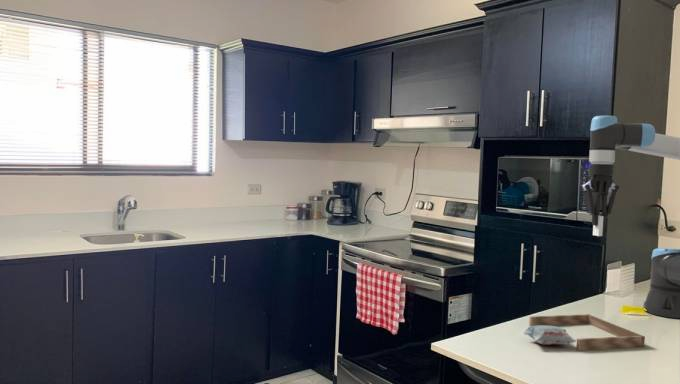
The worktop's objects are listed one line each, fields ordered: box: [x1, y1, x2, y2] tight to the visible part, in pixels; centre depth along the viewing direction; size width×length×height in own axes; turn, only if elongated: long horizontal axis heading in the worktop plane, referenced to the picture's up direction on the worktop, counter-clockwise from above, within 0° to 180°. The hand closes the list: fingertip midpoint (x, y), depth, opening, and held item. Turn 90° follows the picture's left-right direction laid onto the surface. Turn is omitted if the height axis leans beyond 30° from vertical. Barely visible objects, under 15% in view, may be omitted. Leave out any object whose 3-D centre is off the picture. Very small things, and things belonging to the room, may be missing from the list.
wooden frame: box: [528, 313, 646, 351], centre depth 168 cm, size 22×24×3 cm
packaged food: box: [523, 325, 578, 346], centre depth 158 cm, size 9×12×5 cm
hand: (597, 235), depth 180 cm, fingers closed
